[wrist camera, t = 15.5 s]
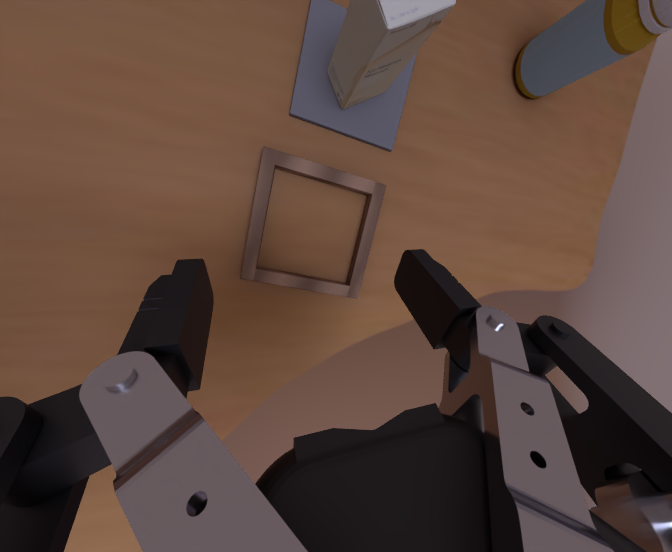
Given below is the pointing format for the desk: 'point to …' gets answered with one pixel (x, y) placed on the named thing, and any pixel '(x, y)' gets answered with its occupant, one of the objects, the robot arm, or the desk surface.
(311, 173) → the frame
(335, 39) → the charcoal mat
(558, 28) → the bottle
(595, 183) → the desk surface
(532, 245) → the desk surface
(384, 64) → the skincare box
